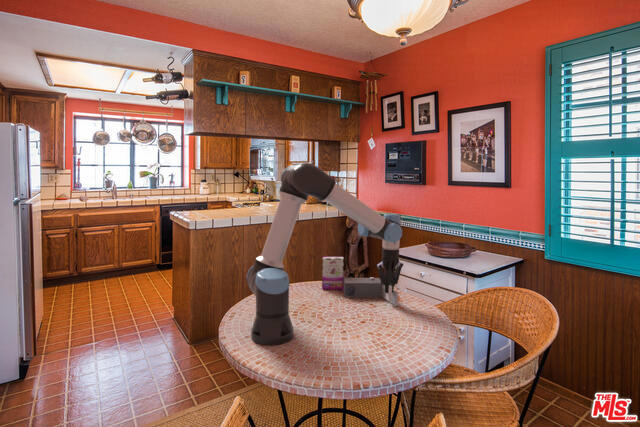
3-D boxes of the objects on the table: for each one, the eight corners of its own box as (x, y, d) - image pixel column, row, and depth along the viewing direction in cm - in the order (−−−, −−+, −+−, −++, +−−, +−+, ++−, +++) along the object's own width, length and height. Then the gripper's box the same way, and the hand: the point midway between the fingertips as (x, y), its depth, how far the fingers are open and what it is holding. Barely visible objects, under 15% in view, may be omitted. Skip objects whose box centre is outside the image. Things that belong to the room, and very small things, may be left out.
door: (399, 306, 160) (400, 291, 160) (395, 306, 160) (396, 292, 159) (385, 296, 172) (385, 283, 172) (381, 297, 172) (382, 283, 171)
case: (345, 298, 170) (345, 282, 169) (343, 291, 181) (343, 276, 180) (382, 298, 171) (383, 282, 170) (378, 291, 181) (379, 276, 180)
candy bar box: (343, 287, 187) (344, 256, 186) (343, 290, 182) (344, 258, 181) (322, 286, 188) (322, 256, 186) (321, 289, 183) (322, 258, 181)
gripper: (382, 250, 154) (380, 303, 156) (407, 249, 158) (405, 301, 161) (373, 247, 161) (371, 298, 163) (398, 246, 165) (396, 295, 168)
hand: (388, 299), depth 162 cm, fingers closed
